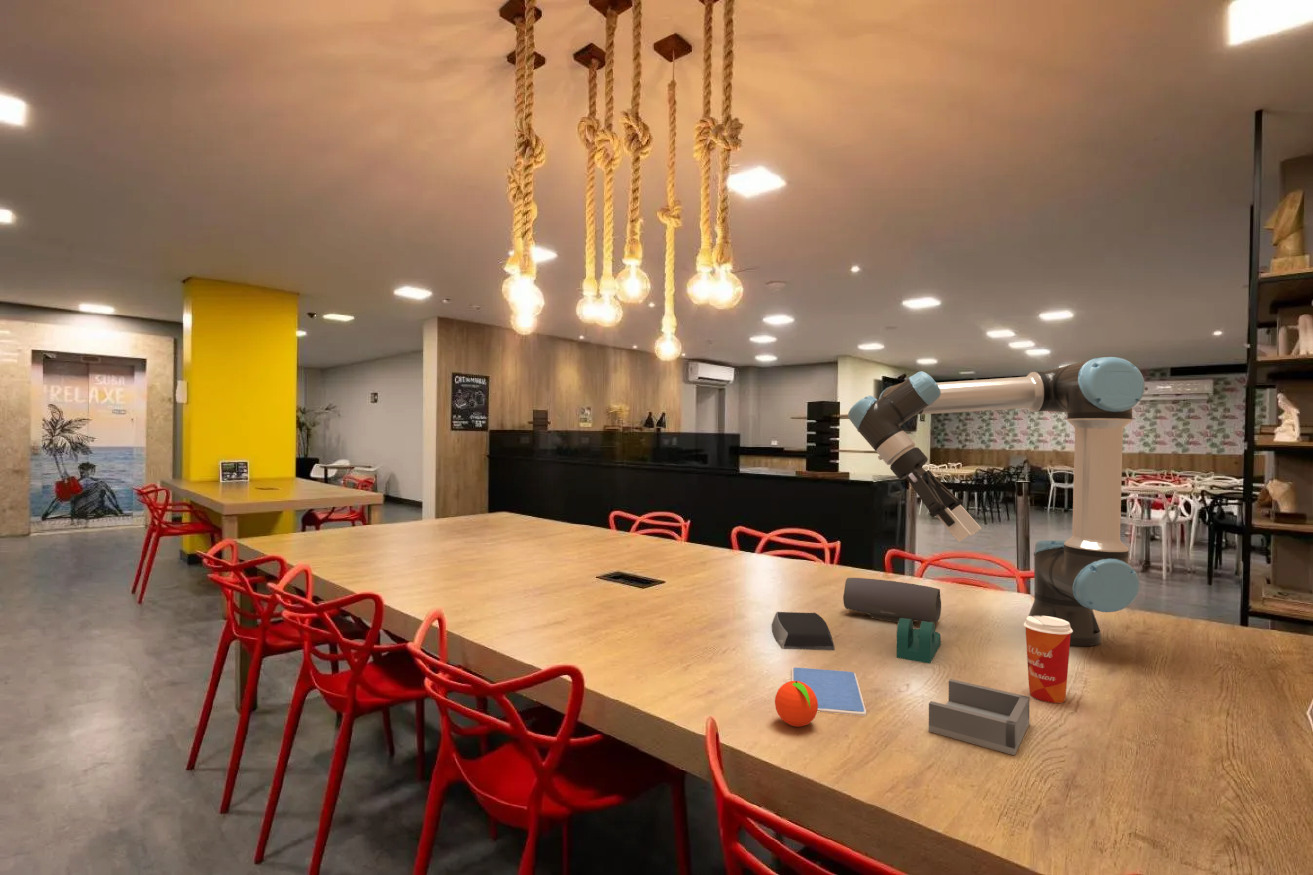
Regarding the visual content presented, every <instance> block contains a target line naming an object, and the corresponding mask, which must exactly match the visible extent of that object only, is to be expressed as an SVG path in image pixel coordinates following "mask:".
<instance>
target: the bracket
mask: <svg viewBox="0 0 1313 875" xmlns="http://www.w3.org/2000/svg"><path fill="white" fill-rule="evenodd" d="M920 622H921V623H920V626H919V628H914V621H912V619H906V618H900V619H899V621H898V622H897V627H896V657H895V658H897V659H903V660H908V661H913V662H918V663H923V664H924V663H925V664H929V665H930V664H931V663H932V661H933V659H934V658H935V656H936V654H937V652H938V650H939V648H940V647H941V640H942V639H941V633H939V632H938V631H936V624H935V622H926V621H920Z"/></svg>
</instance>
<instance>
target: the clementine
mask: <svg viewBox="0 0 1313 875" xmlns="http://www.w3.org/2000/svg"><path fill="white" fill-rule="evenodd" d="M774 697H775V698H774V706H775V710H776V713H777V715H778V716H779V718H780V719H781V720H782V721H783V722H785V723H786V725H789V726H792V727H798V728H800V727H804V726H807V725H808V724H810V723H811V722H813V721H814V719H815V717H816V715H817V714H818V712H817V710H818V701H817V698H816V695H815V693H814V691H813V690H812V689H811V688H810V687H809V686H808V685H806V684H805V683H803V682H800V681H791V680H789V681H787V682H785V683H784V684H782V685H781V686H780V687H779V688H778V690H777V692H776V694H775V696H774Z"/></svg>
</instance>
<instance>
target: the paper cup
mask: <svg viewBox="0 0 1313 875" xmlns="http://www.w3.org/2000/svg"><path fill="white" fill-rule="evenodd" d="M1023 627H1025V641H1026V642H1025V644H1026V655H1027V656H1026V660H1027V661H1026V662H1027V675H1028V676H1027V677H1028V691H1029V696H1031V697H1032V698H1033V699H1034V700H1035V699H1036V700H1038V701H1041V702H1045V703H1048V704H1049V703H1050V704H1062V703H1064V702H1066V695H1067V684H1068V674H1069V672H1068V670H1069V658H1070V648H1071V647H1070V646H1071V645H1070V635H1071V633H1072V632H1073V630H1072V629H1071V627H1070V623H1069V622H1067V621H1065V620H1063V619H1059V618H1055V617H1049V616H1041V617H1040V616H1033V617H1032V616H1028V615H1027V617H1025V621H1024V622H1023Z"/></svg>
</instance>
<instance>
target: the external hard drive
mask: <svg viewBox="0 0 1313 875" xmlns="http://www.w3.org/2000/svg"><path fill="white" fill-rule="evenodd" d="M771 631H772V634H773V637H774V639H775V641H776V642H777V644H778V646H779V647H780V648H781V649H783V650H807V651H808V650H810V651H812V650H813V651H814V650H815V651H816V650H817V651H835V649H836V647H835V645H834V641H833V637H832V633H831V631H830V627H829V626H828V624H827V622H826V621H825V620H824V618H823V617H822V616H820V614H818V613H816V612H793V611H791V612H790V611H786V612H785V611H776V613H775V614H774V616H773V619H772V622H771Z"/></svg>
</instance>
